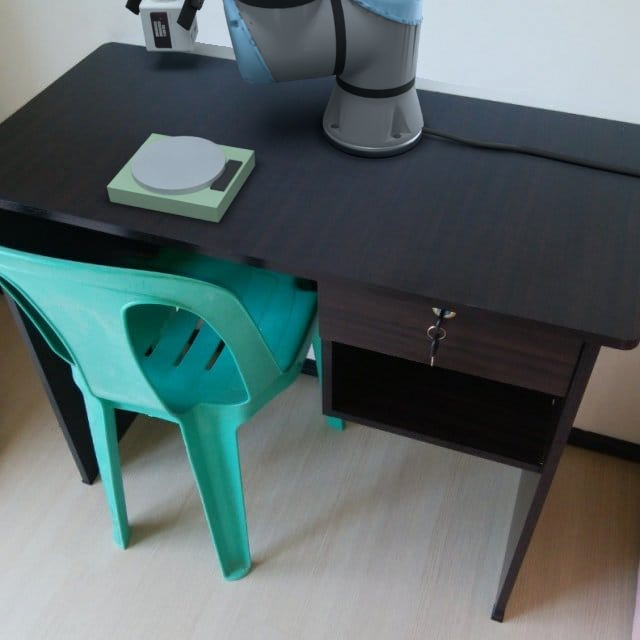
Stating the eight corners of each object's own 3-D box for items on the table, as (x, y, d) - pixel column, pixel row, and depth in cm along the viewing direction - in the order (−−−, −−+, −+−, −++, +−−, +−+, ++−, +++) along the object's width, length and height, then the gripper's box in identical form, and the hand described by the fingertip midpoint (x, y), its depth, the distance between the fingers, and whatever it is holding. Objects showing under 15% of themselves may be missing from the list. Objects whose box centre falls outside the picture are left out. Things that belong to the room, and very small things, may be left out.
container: (192, 52, 125) (182, -29, 116) (146, 52, 125) (132, -29, 116) (198, 32, 130) (189, -47, 121) (154, 32, 130) (141, -47, 121)
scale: (255, 165, 109) (253, 144, 106) (218, 222, 100) (215, 201, 97) (155, 147, 112) (151, 127, 110) (110, 201, 103) (105, 180, 100)
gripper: (275, -87, 119) (223, 45, 121) (166, -111, 128) (119, 13, 130) (253, -116, 112) (199, 25, 114) (139, -139, 121) (90, -8, 123)
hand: (156, 18), depth 122 cm, fingers closed on container, 10 cm apart
